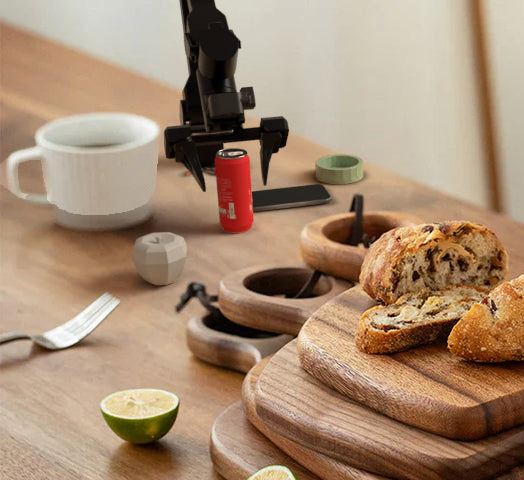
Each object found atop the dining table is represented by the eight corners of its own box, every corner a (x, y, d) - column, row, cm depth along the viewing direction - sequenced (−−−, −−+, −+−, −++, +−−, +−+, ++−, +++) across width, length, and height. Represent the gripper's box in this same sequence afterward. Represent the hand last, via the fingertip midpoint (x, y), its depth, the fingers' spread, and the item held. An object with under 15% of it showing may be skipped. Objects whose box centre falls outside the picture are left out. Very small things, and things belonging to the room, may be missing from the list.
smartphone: (234, 192, 178) (322, 183, 181) (234, 197, 178) (322, 187, 181) (241, 209, 171) (333, 198, 174) (241, 213, 172) (333, 202, 175)
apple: (175, 295, 145) (170, 251, 142) (123, 288, 148) (117, 244, 145) (201, 272, 152) (197, 229, 149) (151, 265, 154) (146, 222, 151)
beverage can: (217, 223, 168) (211, 149, 162) (250, 219, 169) (245, 146, 164) (223, 236, 164) (217, 160, 158) (257, 231, 165) (252, 156, 159)
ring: (306, 175, 187) (306, 160, 186) (344, 165, 192) (344, 151, 190) (334, 187, 181) (333, 173, 180) (372, 177, 186) (372, 162, 184)
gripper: (157, 73, 157) (173, 169, 153) (283, 63, 161) (301, 156, 157) (158, 112, 168) (172, 203, 163) (276, 101, 172) (293, 190, 167)
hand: (235, 187), depth 162 cm, fingers open, 9 cm apart
